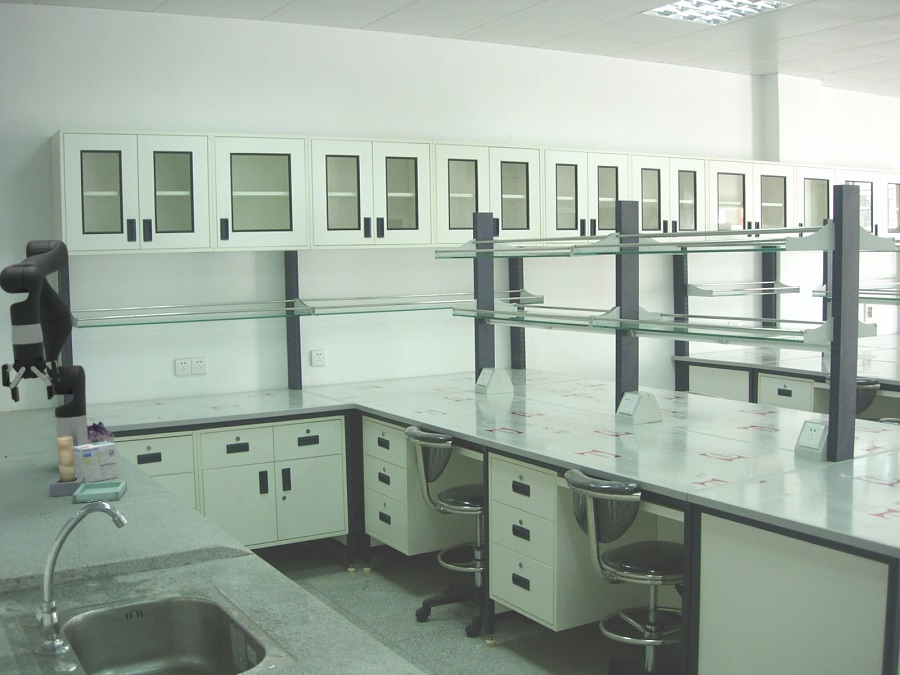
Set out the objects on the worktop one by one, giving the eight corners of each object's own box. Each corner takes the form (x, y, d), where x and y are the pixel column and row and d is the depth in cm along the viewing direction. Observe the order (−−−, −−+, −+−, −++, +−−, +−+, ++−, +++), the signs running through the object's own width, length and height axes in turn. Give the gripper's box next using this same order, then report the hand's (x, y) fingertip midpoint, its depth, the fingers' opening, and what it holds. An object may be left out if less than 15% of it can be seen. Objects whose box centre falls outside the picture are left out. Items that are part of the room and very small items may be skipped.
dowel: (62, 491, 261) (59, 436, 259) (77, 490, 261) (73, 435, 260) (59, 494, 257) (55, 439, 255) (74, 493, 258) (70, 438, 256)
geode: (73, 447, 328) (75, 419, 328) (107, 447, 333) (109, 420, 334) (80, 454, 310) (82, 425, 310) (116, 454, 316) (118, 426, 316)
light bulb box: (108, 474, 281) (106, 440, 280) (118, 477, 276) (116, 442, 275) (74, 481, 273) (72, 445, 273) (83, 484, 269) (81, 448, 268)
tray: (83, 491, 260) (82, 483, 260) (126, 488, 262) (126, 480, 262) (72, 503, 246) (72, 495, 246) (119, 500, 249) (118, 492, 248)
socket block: (56, 490, 262) (56, 478, 262) (85, 487, 264) (85, 476, 264) (50, 496, 254) (49, 484, 254) (80, 494, 256) (79, 482, 256)
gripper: (59, 337, 248) (64, 396, 250) (3, 341, 245) (9, 399, 247) (51, 341, 240) (57, 400, 242) (-6, 344, 238) (1, 404, 240)
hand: (33, 400), depth 245 cm, fingers open, 8 cm apart
